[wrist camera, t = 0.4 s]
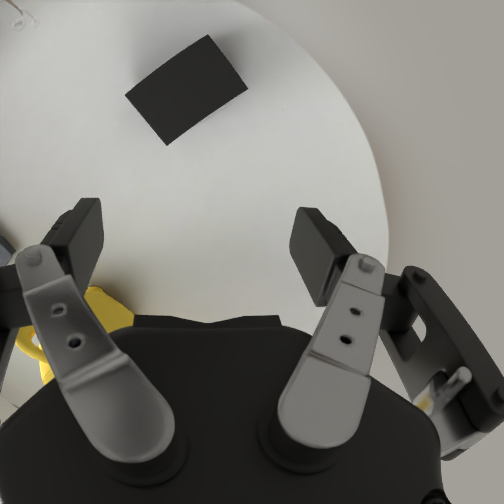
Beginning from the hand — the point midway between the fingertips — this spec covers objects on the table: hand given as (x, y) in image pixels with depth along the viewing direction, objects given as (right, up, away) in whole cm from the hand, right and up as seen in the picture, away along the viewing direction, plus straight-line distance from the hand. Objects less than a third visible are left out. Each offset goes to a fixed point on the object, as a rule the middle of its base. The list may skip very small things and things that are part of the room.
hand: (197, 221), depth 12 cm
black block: (-3, +12, +10) cm, 16 cm away
